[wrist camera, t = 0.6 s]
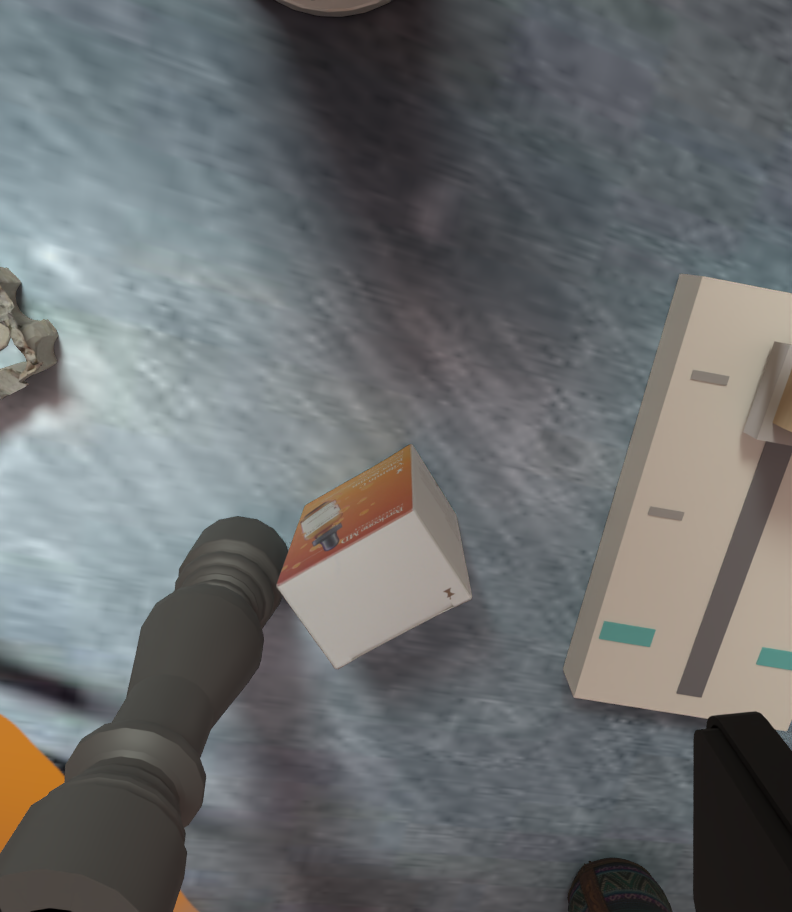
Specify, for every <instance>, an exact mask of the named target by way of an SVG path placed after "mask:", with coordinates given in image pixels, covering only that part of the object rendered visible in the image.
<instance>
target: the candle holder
mask: <svg viewBox="0 0 792 912" xmlns="http://www.w3.org/2000/svg"><path fill="white" fill-rule="evenodd" d="M287 554H288V550H287V547H286V544H285V542H284V541H283V540H282V539H281V537H280V536H279V535H278V534H277V532H276V531H275V530H274V529H273V528H271V527H269V526H268V525H266V524H264V523H262V522H261V521H259V520H257V519H252V518H246V517H240V516H236V517H231V518H226V519H221V520H218V521H217V522H215V523H214V524H212V525H211V526H209V527H208V528H206V529H205V530H204V531H203V532H202V534H201V535H200V537H199V538H198V540H197V541H196V543H195V544H194V546H193V547H192V549H191V550H190V552H189V553H188V555H187V557H186V558H185V560H184V562H183V563H182V565H181V567H180V568H179V577H178V579H177V580H176V583H175V591H174V592H173V593H171V594H170V595H168V596H167V597H165V598H164V599H162V600H161V601H159V602H157V603H156V605H155V606H154V608H153V609H152V611H151V612H150V614H149V616H148V617H147V619H146V621H145V622H144V624H143V625H142V627H141V631H140V636H139V641H138V646H137V651H136V655H135V660H134V665H133V669H132V674H131V678H130V683H129V687H128V692H127V697H126V699H125V701H124V703H123V704H122V706H121V708H120V710H119V711H118V713H117V715H116V716H115V718H114V720H113V721H112V723H108V724H104V725H103V726H101V727H100V728H98V729H97V730H95V731H93V732H92V733H90V734H89V735H87V736H85V737H84V738H83V739H82V740H81V741H80V742H79V744H78V745H77V747H76V749H75V750H74V752H73V754H72V755H71V757H70V758H69V760H68V762H67V763H66V765H65V783H63V784H62V785H60V786H59V787H57V788H55V789H54V790H52V791H51V792H49V794H48V795H47V796H46V797H44V798H42V799H41V800H39V801H38V802H36V803H34V804H33V805H31V807H30V808H29V810H28V811H27V813H26V814H25V816H24V817H23V819H22V821H21V822H20V824H19V825H18V827H17V829H16V830H15V831H14V833H13V835H12V836H11V838H10V839H9V841H8V842H7V844H6V845H5V847H4V849H3V850H2V852H1V853H0V909H1V912H173V909H174V907H175V904H176V900H177V897H178V894H179V891H180V888H181V885H182V882H183V879H184V874H185V866H186V857H187V851H186V848H185V846H184V843H185V835H186V833H185V829H184V827H186V826H187V825H189V823H190V822H191V821H192V819H193V818H194V816H195V815H196V813H197V812H198V811H199V809H200V808H201V806H202V803H203V797H204V789H205V781H206V774H205V771H204V768H203V766H202V763H201V760H200V757H201V754H202V752H203V749H204V746H205V744H206V741H207V739H208V736H209V733H210V731H211V729H212V727H213V726H214V725H215V724H216V722H217V721H218V720H219V719H220V717H221V716H222V715H223V713H224V712H225V711H226V710H227V708H228V707H229V706H230V705H231V703H232V702H233V701H234V700H235V698H236V697H237V696H238V695H239V693H240V692H241V691H242V690H243V688H244V687H245V686H246V685H247V683H248V682H249V680H250V679H251V678H252V676H253V675H254V673H255V672H256V670H257V669H258V667H259V665H260V662H261V657H262V650H263V643H264V637H263V632H262V628H263V627H264V625H265V624H266V622H267V621H268V620H269V619H270V617H271V616H272V614H273V613H274V611H275V610H276V608H277V607H278V605H279V604H280V601H281V598H282V594H281V593H280V591H279V590H278V588H277V587H276V584H277V581H278V579H279V576H280V573H281V571H282V568H283V565H284V562H285V559H286V556H287Z"/></svg>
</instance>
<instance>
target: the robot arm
mask: <svg viewBox="0 0 792 912" xmlns="http://www.w3.org/2000/svg"><path fill="white" fill-rule="evenodd" d="M275 1H277V2H279V3H281V4H283V5H285V6H287V7H289V8H291V9H293V10H297V11H301V12H304V13H308V14H312V15H316V16H332V17H343V16H349V15H355V14H360V13H365V12H368V11H370V10H373V9H375V8H377V7H380V6H382V5H385V4H387V3H389V2H390V1H392V0H313V1H312V0H275ZM693 895H694V904H695V909H696V912H792V751H791V749H790V748H789V747H788V746H787V744H786V743H785V742H784V741H783V739H782V738H781V737H780V735H779V734H778V733H777V732H776V730H775V729H774V728H773V727H772V725H771V724H770V723H769V721H768V720H767V719H766V718H765V717H764V716H763V715H762V714H761V713H759V712H757V711H753V712H743V713H733V714H723V715H713V716H710V717H709V718H708V721H707V726H706V729H701V730H696V731H695V733H694V817H693ZM0 912H1V909H0Z"/></svg>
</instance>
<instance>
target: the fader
mask: <svg viewBox="0 0 792 912" xmlns="http://www.w3.org/2000/svg"><path fill="white" fill-rule="evenodd" d="M743 432H744V433H746V434H748V435H750V436H751V437H753V438H755V439H757V440H762V441H768V442H773V443H779V444H784V445H790V446H792V344H786V343H781V342H776V341H774V344H773V347H772V350H771V353H770V355H769V358H768V361H767V364H766V367H765V370H764V373H763V376H762V379H761V381H760V384H759V387H758V390H757V393H756V396H755V399H754V402H753V405H752V408H751V410H750V413H749V416H748V419H747V422H746V425H745V428H744V431H743Z"/></svg>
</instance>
